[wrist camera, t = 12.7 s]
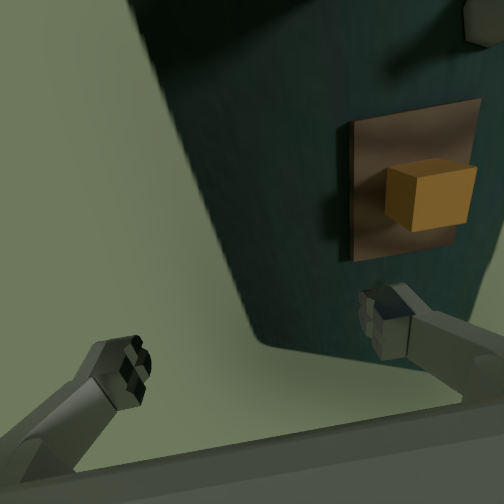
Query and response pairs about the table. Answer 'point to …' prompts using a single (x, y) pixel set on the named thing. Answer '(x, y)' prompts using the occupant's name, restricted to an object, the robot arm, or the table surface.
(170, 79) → the table surface
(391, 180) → the mustard brick
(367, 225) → the walnut post base
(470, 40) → the flask
